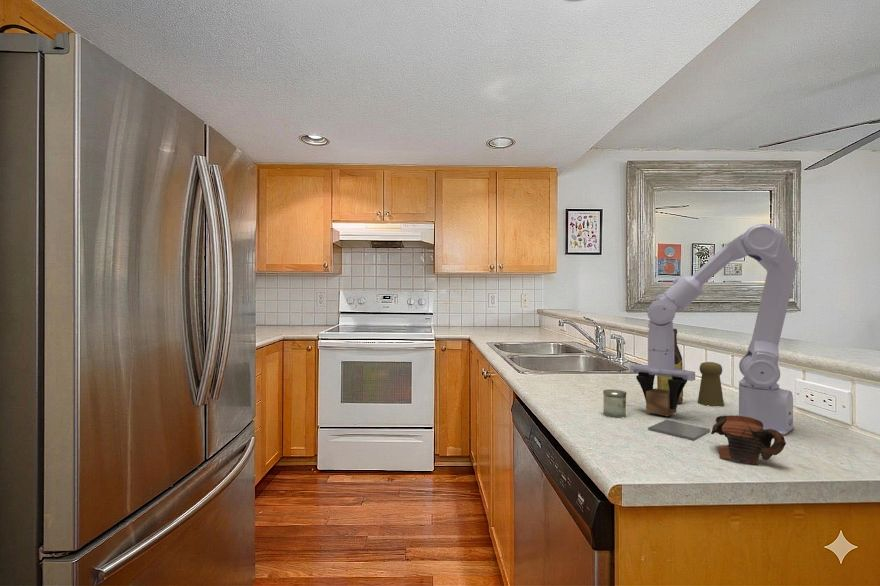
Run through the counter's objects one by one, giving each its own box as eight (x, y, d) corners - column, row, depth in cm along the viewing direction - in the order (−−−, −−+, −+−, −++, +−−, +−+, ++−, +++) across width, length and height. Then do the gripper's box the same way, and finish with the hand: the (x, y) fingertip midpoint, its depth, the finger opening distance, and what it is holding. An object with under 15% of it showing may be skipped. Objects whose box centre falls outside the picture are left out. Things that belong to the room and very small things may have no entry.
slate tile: (710, 431, 93) (710, 429, 93) (693, 440, 87) (693, 438, 87) (666, 421, 100) (666, 419, 100) (648, 429, 94) (648, 427, 94)
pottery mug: (699, 457, 80) (700, 412, 83) (729, 472, 83) (728, 429, 87) (775, 460, 70) (771, 410, 74) (804, 477, 74) (800, 429, 77)
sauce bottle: (688, 404, 115) (688, 329, 115) (664, 404, 116) (664, 329, 116) (675, 398, 122) (675, 327, 122) (652, 398, 122) (652, 327, 122)
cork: (716, 401, 119) (716, 360, 119) (729, 407, 113) (729, 364, 113) (693, 400, 120) (693, 360, 120) (704, 406, 114) (704, 364, 114)
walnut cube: (676, 412, 106) (676, 391, 106) (667, 416, 102) (667, 394, 102) (655, 408, 109) (655, 388, 110) (646, 411, 106) (646, 391, 106)
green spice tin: (630, 415, 105) (630, 392, 105) (619, 419, 102) (619, 395, 102) (609, 410, 109) (610, 388, 109) (598, 414, 106) (598, 391, 106)
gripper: (623, 348, 109) (624, 403, 109) (686, 354, 98) (686, 415, 98) (637, 346, 114) (637, 398, 113) (698, 351, 102) (698, 409, 102)
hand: (661, 406), depth 106 cm, fingers closed on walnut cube, 5 cm apart
